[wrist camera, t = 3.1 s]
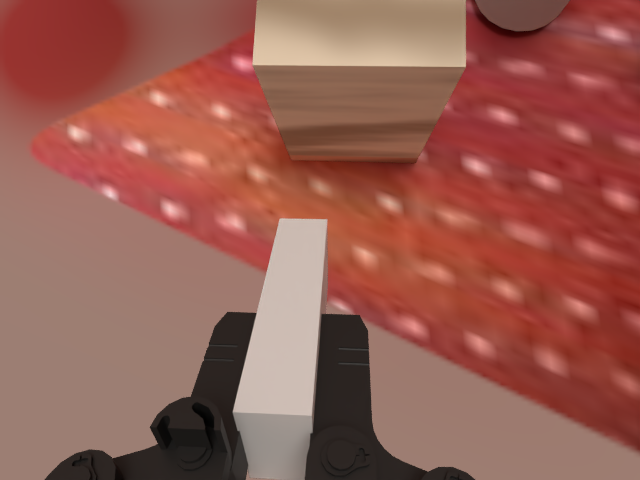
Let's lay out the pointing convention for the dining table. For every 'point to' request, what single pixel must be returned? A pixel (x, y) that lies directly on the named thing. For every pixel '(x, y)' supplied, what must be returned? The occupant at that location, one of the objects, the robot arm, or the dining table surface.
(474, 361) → the dining table surface
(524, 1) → the can
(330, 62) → the birch block
